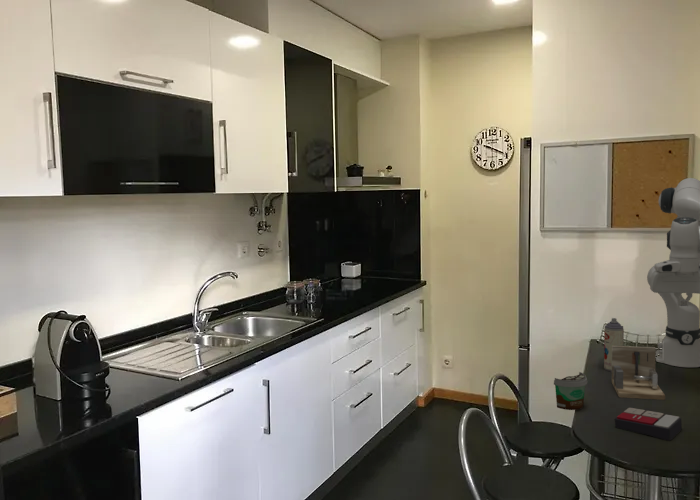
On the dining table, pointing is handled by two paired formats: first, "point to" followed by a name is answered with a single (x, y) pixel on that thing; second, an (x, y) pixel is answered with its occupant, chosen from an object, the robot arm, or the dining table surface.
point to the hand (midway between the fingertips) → (683, 305)
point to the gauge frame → (633, 372)
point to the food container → (570, 392)
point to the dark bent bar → (636, 363)
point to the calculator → (649, 423)
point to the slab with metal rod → (649, 378)
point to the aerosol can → (612, 341)
